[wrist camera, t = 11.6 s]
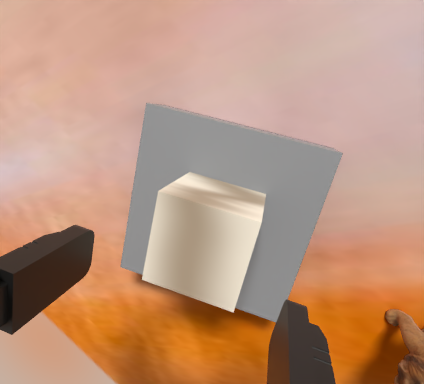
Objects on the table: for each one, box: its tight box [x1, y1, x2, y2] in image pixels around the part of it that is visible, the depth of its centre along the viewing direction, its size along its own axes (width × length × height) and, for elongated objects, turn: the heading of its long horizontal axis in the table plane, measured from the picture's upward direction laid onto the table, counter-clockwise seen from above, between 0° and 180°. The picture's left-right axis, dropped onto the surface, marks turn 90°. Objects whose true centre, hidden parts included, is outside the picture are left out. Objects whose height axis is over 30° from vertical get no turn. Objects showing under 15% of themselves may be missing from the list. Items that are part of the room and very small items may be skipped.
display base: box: [121, 103, 343, 322], centre depth 20 cm, size 12×12×3 cm
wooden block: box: [142, 172, 266, 313], centre depth 16 cm, size 5×5×5 cm
